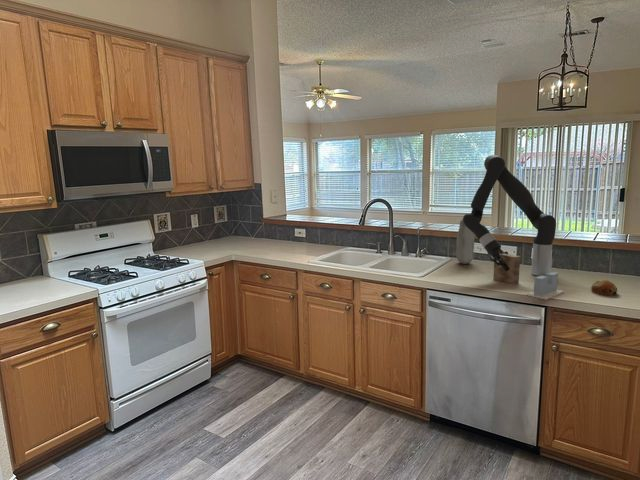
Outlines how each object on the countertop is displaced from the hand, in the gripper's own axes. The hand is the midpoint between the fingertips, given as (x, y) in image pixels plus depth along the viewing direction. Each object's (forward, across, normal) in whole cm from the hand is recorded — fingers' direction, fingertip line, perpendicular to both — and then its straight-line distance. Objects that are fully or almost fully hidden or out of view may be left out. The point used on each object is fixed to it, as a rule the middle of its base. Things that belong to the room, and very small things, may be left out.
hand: (510, 269), depth 220 cm
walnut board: (+3, 0, +6) cm, 7 cm away
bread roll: (+32, +16, -22) cm, 42 cm away
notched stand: (+20, -6, -10) cm, 23 cm away
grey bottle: (-23, +18, +33) cm, 44 cm away
